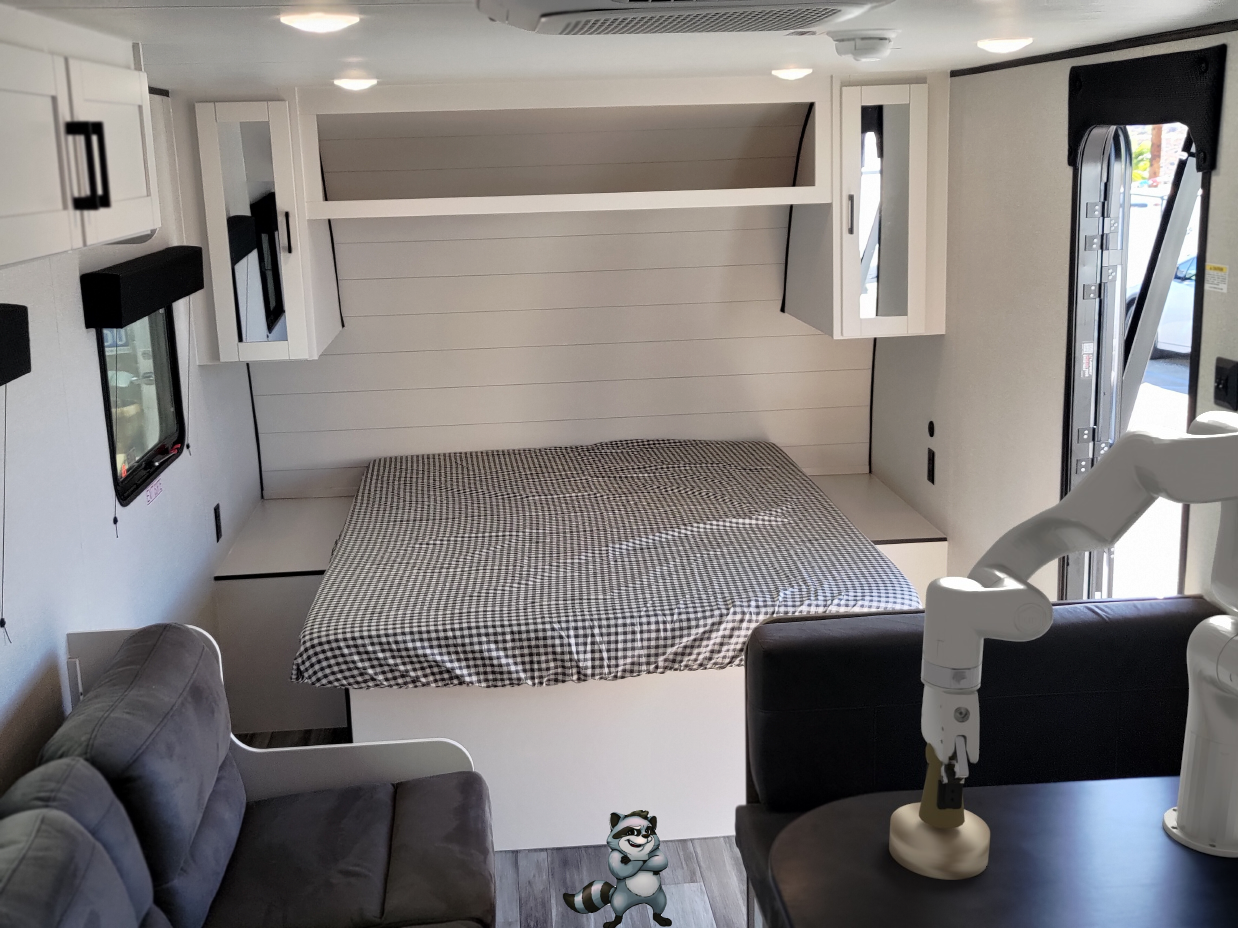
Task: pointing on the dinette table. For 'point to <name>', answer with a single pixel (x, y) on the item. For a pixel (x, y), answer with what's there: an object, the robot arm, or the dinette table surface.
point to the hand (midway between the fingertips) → (943, 797)
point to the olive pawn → (929, 797)
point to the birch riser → (939, 845)
